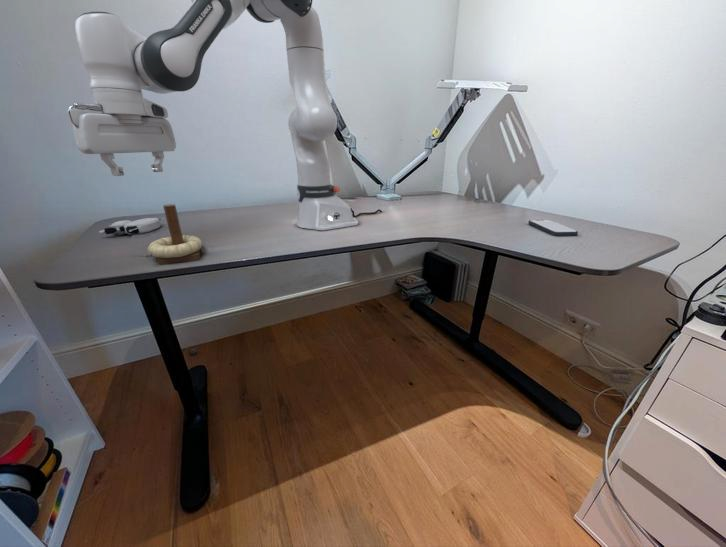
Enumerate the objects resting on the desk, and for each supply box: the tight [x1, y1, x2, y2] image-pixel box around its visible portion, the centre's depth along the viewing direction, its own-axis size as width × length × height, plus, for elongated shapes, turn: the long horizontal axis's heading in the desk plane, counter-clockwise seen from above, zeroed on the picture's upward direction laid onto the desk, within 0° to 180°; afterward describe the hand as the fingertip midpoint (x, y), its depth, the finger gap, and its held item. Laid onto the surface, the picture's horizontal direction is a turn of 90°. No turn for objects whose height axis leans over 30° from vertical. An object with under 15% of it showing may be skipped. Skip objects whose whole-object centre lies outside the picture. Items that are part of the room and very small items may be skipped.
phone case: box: [527, 219, 579, 237], centre depth 110 cm, size 9×2×16 cm
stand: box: [157, 203, 202, 265], centre depth 80 cm, size 9×9×14 cm
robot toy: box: [98, 217, 165, 236], centre depth 101 cm, size 12×4×15 cm
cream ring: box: [147, 234, 203, 258], centre depth 81 cm, size 12×12×3 cm
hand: (139, 173), depth 73 cm, fingers open, 8 cm apart
